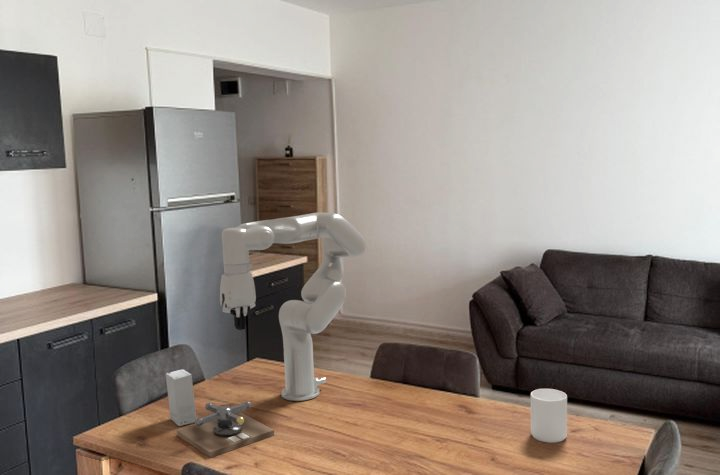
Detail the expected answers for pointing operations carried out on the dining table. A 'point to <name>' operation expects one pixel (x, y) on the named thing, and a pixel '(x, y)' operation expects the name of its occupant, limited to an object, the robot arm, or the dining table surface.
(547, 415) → the mug
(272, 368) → the dining table surface
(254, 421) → the board
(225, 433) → the capstan
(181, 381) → the skincare box
